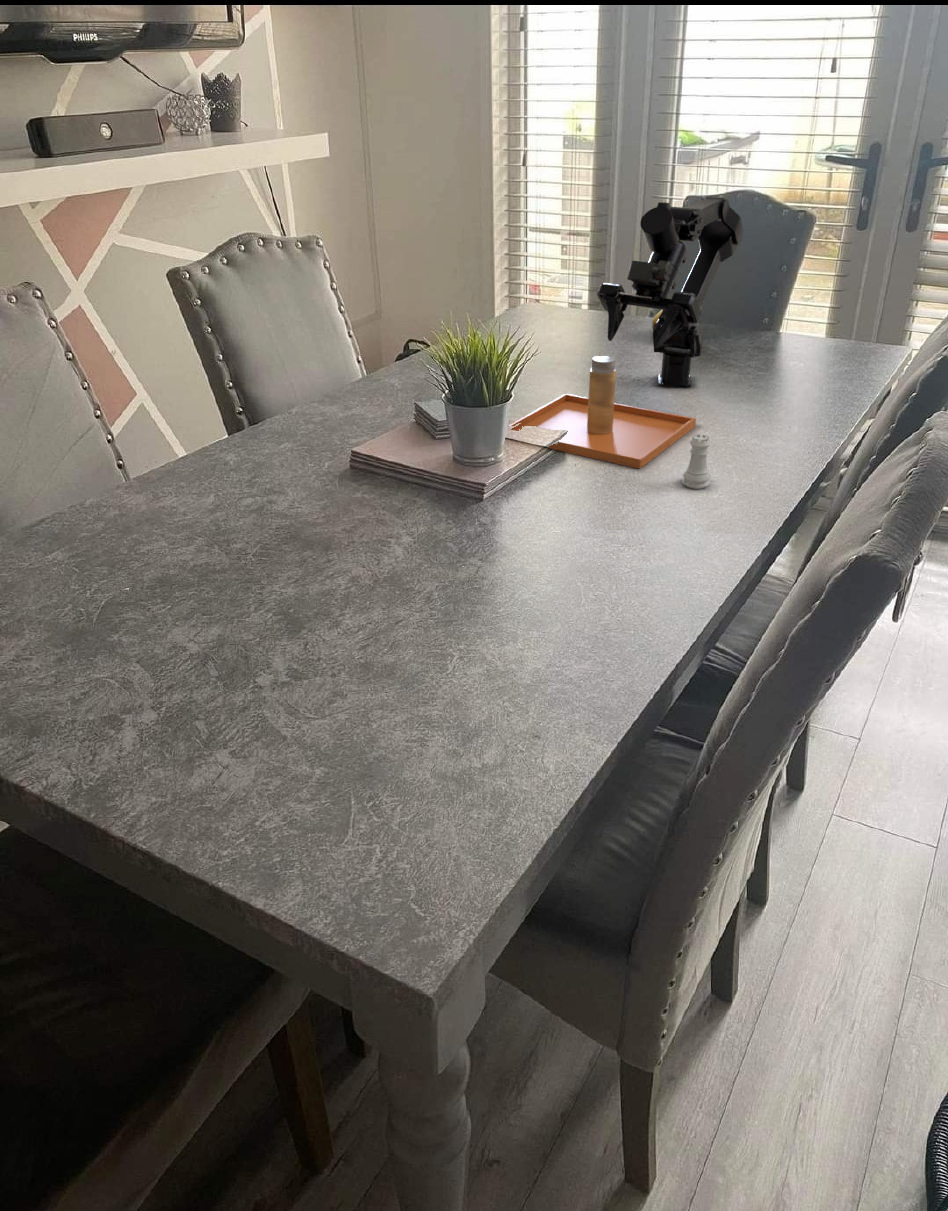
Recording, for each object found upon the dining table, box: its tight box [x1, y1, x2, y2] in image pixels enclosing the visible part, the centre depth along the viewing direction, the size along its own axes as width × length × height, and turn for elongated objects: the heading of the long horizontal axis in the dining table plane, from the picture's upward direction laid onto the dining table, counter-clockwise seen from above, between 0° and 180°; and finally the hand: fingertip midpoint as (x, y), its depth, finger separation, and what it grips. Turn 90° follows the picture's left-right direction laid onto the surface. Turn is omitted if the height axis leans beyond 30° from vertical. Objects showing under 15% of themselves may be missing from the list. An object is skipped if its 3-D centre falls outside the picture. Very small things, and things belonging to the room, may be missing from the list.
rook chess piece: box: [681, 433, 712, 490], centre depth 151 cm, size 4×4×8 cm
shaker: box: [587, 355, 617, 434], centre depth 170 cm, size 5×5×13 cm
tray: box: [509, 393, 697, 470], centre depth 174 cm, size 23×27×2 cm
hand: (631, 343), depth 174 cm, fingers open, 9 cm apart
